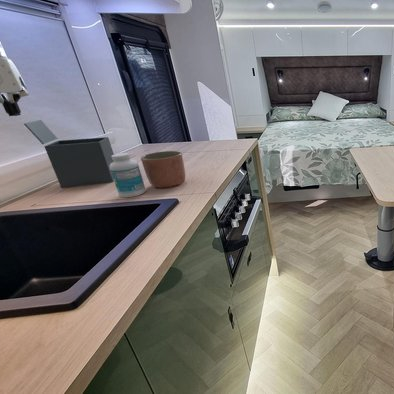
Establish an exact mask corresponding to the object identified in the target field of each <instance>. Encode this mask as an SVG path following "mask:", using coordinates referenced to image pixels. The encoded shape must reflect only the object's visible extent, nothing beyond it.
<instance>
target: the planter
mask: <svg viewBox="0 0 394 394" xmlns="http://www.w3.org/2000/svg"><path fill="white" fill-rule="evenodd" d="M183 157H184V156H183V153H182V152H181V151H178V150H165V151H155V152H151V153H146V154H144V155H141V157H140V161H141V163H142V167H143V170H144V172H145V175H146V179H147V180H148V182H149V184H150V185H151V186H153V187H154V188H158V189H159V188H161V189H162V188H163V189H164V188H171V187H176V186H179V185H181V184H182V183H183V182H185V180H186V168H185V163H184V158H183Z"/></svg>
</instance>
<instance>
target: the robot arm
mask: <svg viewBox="0 0 394 394" xmlns="http://www.w3.org/2000/svg"><path fill="white" fill-rule="evenodd" d="M19 71H20V70H19V69H18V68H17V67H16V65H15V64H14V62H13V61H12V59H10V58H8V56H7V54H6V52H5V49H4V46H3V45H2V42H1V41H0V104H1V105H2V107H3V109H4V111H5V113H6V114H7V115H8V116H9V117H18V116H21V114H22V111H21V108H20V106H19V104H18V103H19V101H20V99H22V98H25V97H28V96H30V93H29V92H28V90H27V86H26V83H25V81H24V79H23V77H22V75H21V73H20V72H19Z"/></svg>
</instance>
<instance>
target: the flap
mask: <svg viewBox="0 0 394 394" xmlns="http://www.w3.org/2000/svg"><path fill="white" fill-rule="evenodd" d="M23 125H24V126H25V127H26V128H27V129H28V131H30V133H31V134H32V135H33V136H34V137H35V138H36V139H37V140H38V141H39V143H41V145H45V144H47V143H51V142H54V141H55V140H59V139H58V137H57V135H55V134H54V132H52V131H51V129H50V128H49V127H48V126H47V124H46V123H45V122H44V121H43V120H42V119H37V120H34V121H30V122H25V123H23Z"/></svg>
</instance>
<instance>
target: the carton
mask: <svg viewBox="0 0 394 394" xmlns="http://www.w3.org/2000/svg"><path fill="white" fill-rule="evenodd" d="M44 149H45V151H46V154H47V158H48V159H49V161H50V164H51V167H52V169H53V171H54V173H55V176H56V178H57V181H58V183H59V186H60V189H64V188H65V189H66V188H74V187H81V186H83V187H84V186H91V185H100V184H109V183H114V179H113V176H112V173H111V170H110V167H109V166H110V164H111V163H112V162H114V160H113V159H112V155H114V151H113V148H112V145H111V142H110V139H109V137H107V136H105V137H90V138H77V139H75V138H74V139H61V140H56V141H53V142H50V143H49V144H47V145H44Z"/></svg>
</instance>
